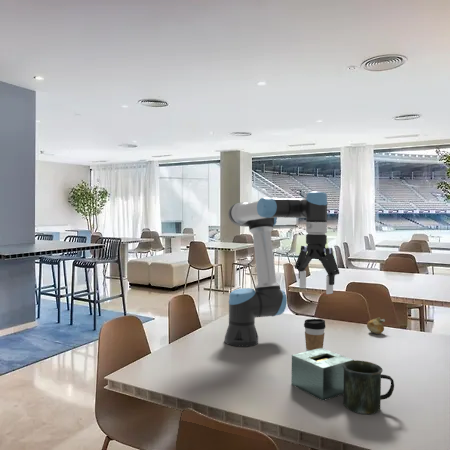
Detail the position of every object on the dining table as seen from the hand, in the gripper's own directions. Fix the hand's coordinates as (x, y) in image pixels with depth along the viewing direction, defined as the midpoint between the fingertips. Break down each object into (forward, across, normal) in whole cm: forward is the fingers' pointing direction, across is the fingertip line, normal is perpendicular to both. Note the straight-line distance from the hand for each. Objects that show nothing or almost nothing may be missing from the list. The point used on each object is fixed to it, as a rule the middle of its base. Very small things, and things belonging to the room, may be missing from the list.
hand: (315, 290), depth 149 cm
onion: (+29, -17, +59) cm, 68 cm away
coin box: (+29, +14, -11) cm, 34 cm away
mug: (+29, +31, -10) cm, 44 cm away
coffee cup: (+29, -8, +8) cm, 31 cm away
